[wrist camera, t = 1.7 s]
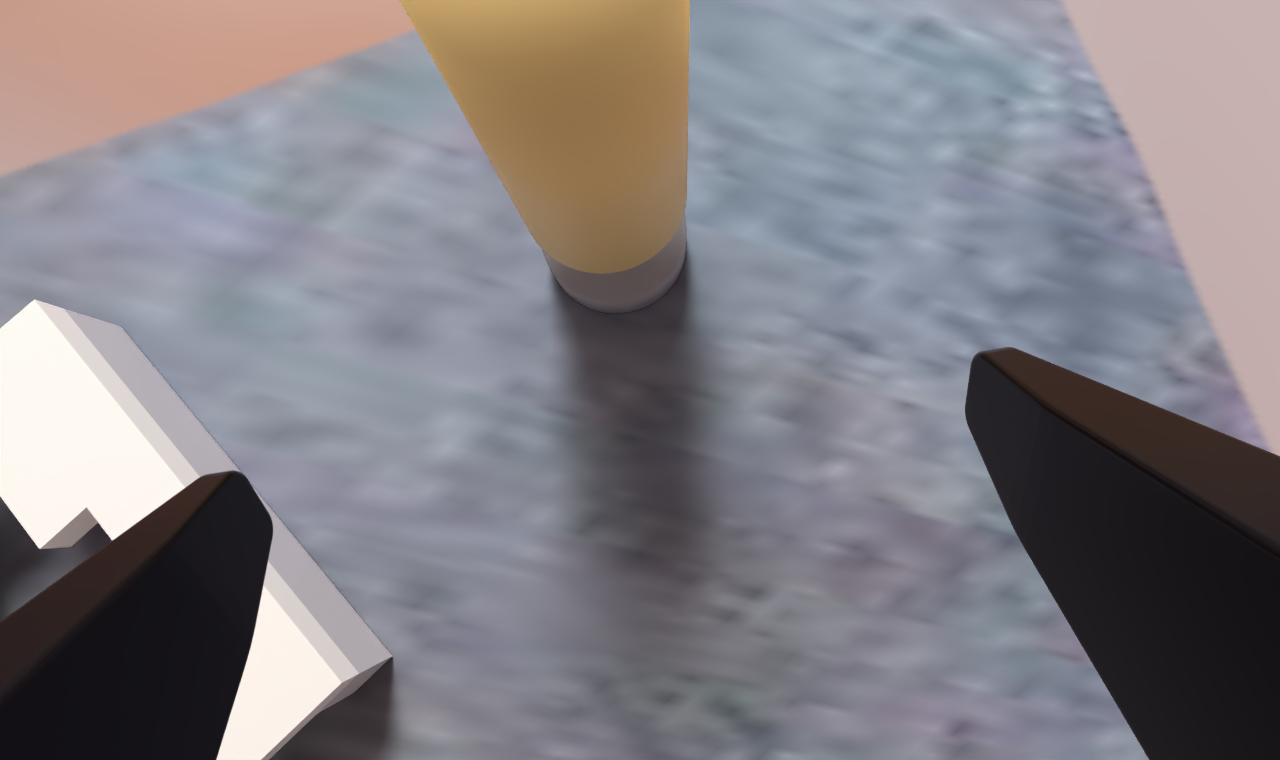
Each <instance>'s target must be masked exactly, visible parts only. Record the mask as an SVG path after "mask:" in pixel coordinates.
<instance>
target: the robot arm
mask: <svg viewBox="0 0 1280 760" xmlns="http://www.w3.org/2000/svg"><path fill="white" fill-rule="evenodd" d="M965 415H966V420H967V424H968V427H969V429H970V431H971V434H972V436H973V438H974V440H975V443H976V445H977V447H978V450H979V452H980V454H981V456H982V459H983V461H984V463H985V465H986V468H987V470H988V472H989V475H990V477H991V479H992V481H993V484H994V486H995V488H996V490H997V493H998V495H999V497H1000V500H1001V502H1002V504H1003V506H1004V509H1005V511H1006V513H1007V515H1008V517H1009V520H1010V522H1011V524H1012V526H1013V528H1014V530H1015V532H1016V534H1017V536H1018V537H1019V539H1020V541H1021V543H1022V545H1023V546H1024V548H1025V550H1026V552H1027V553H1028V555H1029V557H1030V558H1031V560H1032V562H1033V564H1034V565H1035V567H1036V569H1037V570H1038V572H1039V574H1040V575H1041V577H1042V579H1043V580H1044V582H1045V584H1046V586H1047V587H1048V589H1049V591H1050V592H1051V594H1052V596H1053V597H1054V599H1055V601H1056V602H1057V604H1058V606H1059V608H1060V609H1061V611H1062V613H1063V614H1064V616H1065V618H1066V619H1067V621H1068V623H1069V625H1070V626H1071V628H1072V630H1073V631H1074V633H1075V635H1076V636H1077V638H1078V640H1079V641H1080V643H1081V645H1082V647H1083V648H1084V650H1085V652H1086V653H1087V655H1088V657H1089V658H1090V660H1091V662H1092V664H1093V665H1094V667H1095V669H1096V670H1097V672H1098V674H1099V675H1100V677H1101V679H1102V680H1103V682H1104V684H1105V686H1106V687H1107V689H1108V691H1109V692H1110V694H1111V696H1112V697H1113V699H1114V701H1115V702H1116V704H1117V706H1118V708H1119V709H1120V711H1121V713H1122V714H1123V716H1124V718H1125V719H1126V721H1127V723H1128V725H1129V726H1130V728H1131V730H1132V731H1133V733H1134V735H1135V736H1136V738H1137V740H1138V741H1139V743H1140V745H1141V747H1142V748H1143V750H1144V752H1145V753H1146V755H1147V757H1148V758H1149V760H1280V456H1278V455H1275V454H1273V453H1270V452H1268V451H1265V450H1263V449H1261V448H1258V447H1256V446H1253V445H1251V444H1248V443H1246V442H1243V441H1241V440H1239V439H1236V438H1234V437H1231V436H1229V435H1226V434H1224V433H1221V432H1219V431H1217V430H1214V429H1212V428H1209V427H1207V426H1204V425H1202V424H1199V423H1197V422H1194V421H1192V420H1190V419H1187V418H1185V417H1182V416H1180V415H1177V414H1175V413H1172V412H1170V411H1168V410H1165V409H1163V408H1160V407H1158V406H1155V405H1153V404H1150V403H1148V402H1145V401H1143V400H1141V399H1138V398H1136V397H1133V396H1131V395H1128V394H1126V393H1123V392H1121V391H1119V390H1116V389H1114V388H1111V387H1109V386H1106V385H1104V384H1101V383H1099V382H1096V381H1094V380H1092V379H1089V378H1087V377H1084V376H1082V375H1079V374H1077V373H1074V372H1072V371H1070V370H1067V369H1065V368H1062V367H1060V366H1057V365H1055V364H1052V363H1050V362H1047V361H1045V360H1043V359H1040V358H1038V357H1035V356H1033V355H1030V354H1028V353H1025V352H1023V351H1021V350H1018V349H1015V348H1012V347H1005V348H999V349H993V350H987V351H981V352H979V353H977V354H976V355H975V356H974V358H973V360H972V363H971V368H970V375H969V382H968V390H967V397H966V404H965ZM272 538H273V523H272V519H271V516H270V514H269V512H268V511H267V509H266V508H265V506H264V504H263V503H262V501H261V500H260V498H259V497H258V495H257V493H256V492H255V490H254V489H253V487H252V485H251V484H250V482H249V481H248V479H247V478H246V476H245V475H244V474H242V473H241V472H239V471H235V470H230V471H224V472H218V473H211V474H206V475H203V476H201V477H199V478H198V479H196V480H195V481H194V482H192V483H191V484H190V485H188V486H187V487H185V488H184V489H183V490H181V491H180V492H179V493H177V494H176V495H174V496H173V497H172V498H170V499H169V500H167V501H166V502H165V503H163V504H162V505H161V506H159V507H158V508H156V509H155V510H154V511H152V512H151V513H150V514H148V515H147V516H145V517H144V518H143V519H141V520H140V521H139V522H137V523H136V524H134V525H133V526H132V527H130V528H129V529H128V530H126V531H125V532H123V533H122V534H121V535H119V536H118V537H117V538H115V539H114V540H112V541H111V542H110V543H108V544H107V545H106V546H104V547H103V548H101V549H100V550H99V551H97V552H96V553H95V554H93V555H92V556H90V557H89V558H88V559H86V560H85V561H84V562H82V563H81V564H79V565H78V566H77V567H75V568H74V569H73V570H71V571H70V572H68V573H67V574H66V575H64V576H63V577H62V578H60V579H59V580H57V581H56V582H55V583H53V584H52V585H51V586H49V587H48V588H46V589H45V590H44V591H42V592H41V593H40V594H38V595H37V596H35V597H34V598H33V599H31V600H30V601H29V602H27V603H26V604H24V605H23V606H22V607H20V608H19V609H18V610H16V611H15V612H13V613H12V614H11V615H9V616H8V617H6V618H5V619H4V620H2V621H1V622H0V760H216V759H217V756H218V753H219V750H220V746H221V743H222V740H223V737H224V734H225V730H226V727H227V724H228V721H229V717H230V714H231V711H232V708H233V704H234V701H235V698H236V695H237V692H238V688H239V685H240V682H241V679H242V675H243V672H244V669H245V666H246V662H247V659H248V655H249V651H250V648H251V644H252V639H253V635H254V631H255V626H256V621H257V616H258V611H259V605H260V600H261V595H262V590H263V585H264V580H265V574H266V569H267V564H268V559H269V554H270V549H271V543H272Z"/></svg>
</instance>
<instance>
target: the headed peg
mask: <svg viewBox="0 0 1280 760" xmlns="http://www.w3.org/2000/svg"><path fill="white" fill-rule="evenodd" d="M400 1H401V3H402V5H403V7H404V9H405V10H406V12H407V14H408V16H409V18H410V19H411V21H412V23H413V25H414V26H415V28H416V30H417V32H418V34H419V35H420V37H421V39H422V41H423V43H424V44H425V46H426V48H427V50H428V51H429V53H430V55H431V57H432V59H433V60H434V62H435V64H436V66H437V67H438V69H439V71H440V73H441V75H442V76H443V78H444V80H445V82H446V83H447V85H448V87H449V89H450V91H451V92H452V94H453V96H454V98H455V100H456V101H457V103H458V105H459V107H460V108H461V110H462V112H463V114H464V116H465V117H466V119H467V121H468V123H469V124H470V126H471V128H472V130H473V132H474V133H475V135H476V137H477V139H478V140H479V142H480V144H481V146H482V148H483V149H484V151H485V153H486V155H487V156H488V158H489V160H490V162H491V164H492V165H493V167H494V169H495V171H496V173H497V174H498V176H499V178H500V180H501V181H502V183H503V185H504V187H505V189H506V190H507V192H508V194H509V196H510V197H511V199H512V201H513V203H514V205H515V206H516V208H517V210H518V212H519V213H520V215H521V217H522V219H523V221H524V222H525V224H526V226H527V228H528V229H529V231H530V233H531V235H532V236H533V238H534V239H535V241H536V242H537V243H538V245H539V246H540V247H541V248H542V250H543V254H544V257H545V259H546V261H547V263H548V265H549V267H550V269H551V270H552V272H553V274H554V276H555V278H556V279H557V281H558V282H559V284H560V286H561V287H562V288H563V289H564V291H565V292H566V293H567V294H568V295H569V296H570V297H571V298H573V299H574V300H575V301H577V302H578V303H580V304H581V305H583V306H585V307H587V308H590V309H593V310H596V311H599V312H604V313H627V312H632V311H636V310H639V309H642V308H644V307H646V306H649V305H651V304H652V303H654V302H655V301H657V300H658V299H660V298H661V297H662V296H663V295H664V294H665V293H666V292H667V291H668V290H669V289H670V288H671V287H672V285H673V284H674V283H675V281H676V280H677V278H678V276H679V274H680V272H681V270H682V267H683V264H684V260H685V254H686V218H685V213H684V211H685V206H686V199H687V153H688V85H689V17H690V0H400Z"/></svg>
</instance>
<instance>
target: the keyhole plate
mask: <svg viewBox="0 0 1280 760" xmlns="http://www.w3.org/2000/svg"><path fill="white" fill-rule="evenodd" d="M230 470H235V471H239V470H238V468H237V467H236V466H235V465H234V464H233V462H232V461H231V460H230V459H229V458H228V456H227V455H226V454H225V453H224V451H223V450H222V449H221V448H220V447H219V445H218V444H217V443H216V442H215V441H214V439H213V438H212V437H211V436H210V434H209V433H208V432H207V431H206V430H205V428H204V427H203V426H202V425H201V424H200V422H199V421H198V420H197V419H196V417H195V416H194V415H193V414H192V413H191V411H190V410H189V409H188V408H187V407H186V405H185V404H184V403H183V402H182V400H181V399H180V398H179V397H178V396H177V394H176V393H175V392H174V391H173V390H172V388H171V387H170V386H169V385H168V383H167V382H166V381H165V380H164V379H163V377H162V376H161V375H160V374H159V373H158V371H157V370H156V369H155V368H154V366H153V365H152V364H151V363H150V362H149V360H148V359H147V358H146V357H145V356H144V354H143V353H142V352H141V351H140V349H139V348H138V347H137V346H136V345H135V343H134V342H133V341H132V340H131V339H130V337H129V336H128V335H127V334H126V332H125V331H124V330H123V329H122V328H121V327H120V326H117V325H114V324H110V323H107V322H104V321H101V320H98V319H95V318H91V317H88V316H85V315H82V314H79V313H75V312H72V311H69V310H66V309H63V308H60V307H56V306H53V305H50V304H47V303H44V302H40V301H37V300H33V301H32V302H31V303H30V304H28V305H27V306H26V307H25V308H24V309H23V310H22V311H20V312H19V313H18V314H17V315H16V316H15V317H13V318H12V319H11V320H10V321H9V322H8V323H7V324H5V325H4V326H3V327H2V328H1V329H0V497H1V498H2V499H3V501H4V502H5V503H6V505H7V506H8V507H9V509H10V510H11V511H12V513H13V514H14V515H15V517H16V518H17V519H18V521H19V522H20V524H21V525H22V526H23V528H24V529H25V530H26V532H27V533H28V534H29V536H30V537H31V538H32V540H33V541H34V542H35V544H36V545H37V546H38V548H39V549H50V548H64V547H72V546H73V545H74V544H75V543H76V542H77V541H78V540H79V539H80V538H82V537H83V536H84V535H85V534H86V533H87V532H88V531H89V530H90V529H91V528H93V527H94V526H95V525H96V524H97V523H99V524H100V525H101V527H102V528H103V529H104V530H105V532H106V533H107V534H108V536H109V537H110V538H111V540H114V539H115V538H117V537H118V536H119V535H121V534H122V533H123V532H125V531H126V530H128V529H129V528H130V527H132V526H133V525H134V524H136V523H137V522H139V521H140V520H141V519H143V518H144V517H145V516H147V515H148V514H150V513H151V512H152V511H154V510H155V509H156V508H158V507H159V506H161V505H162V504H163V503H165V502H166V501H167V500H169V499H170V498H172V497H173V496H174V495H176V494H177V493H179V492H180V491H181V490H183V489H184V488H185V487H187V486H188V485H190V484H191V483H192V482H194V481H195V480H196V479H198V478H199V477H201V476H203V475H206V474H211V473H218V472H224V471H230ZM239 472H240V471H239ZM253 489H254V488H253ZM254 490H255V489H254ZM255 492H256V490H255ZM256 493H257V492H256ZM257 495H258V497H259V498H260V500H261V501H262V503H263V504H264V506H265V508H266V509H267V511H268V512H269V514H270V516H271V519H272V523H273V538H272V543H271V549H270V554H269V559H268V564H267V569H266V574H265V580H264V585H263V590H262V595H261V600H260V605H259V611H258V616H257V621H256V626H255V631H254V635H253V639H252V644H251V648H250V651H249V655H248V659H247V662H246V666H245V669H244V672H243V675H242V679H241V682H240V685H239V688H238V692H237V695H236V698H235V701H234V704H233V708H232V711H231V714H230V717H229V721H228V724H227V727H226V730H225V734H224V737H223V740H222V743H221V746H220V750H219V753H218V756H217V759H216V760H269V759H270V758H271V757H272V756H273V755H274V754H275V753H276V752H278V751H279V750H280V749H281V748H282V747H283V746H284V745H285V744H286V743H287V742H288V741H289V740H290V739H291V738H292V737H293V736H294V735H295V734H296V733H297V732H298V731H300V730H301V729H302V728H303V727H304V726H305V725H306V724H307V723H308V722H309V721H310V720H311V719H312V718H313V717H314V716H315V715H316V714H318V713H320V712H321V711H323V710H325V709H327V708H328V707H330V706H332V705H334V704H335V703H337V702H339V701H340V700H342V699H344V698H346V697H347V696H349V695H351V694H353V693H354V692H355V691H356V690H357V689H358V688H359V687H360V686H362V685H363V684H364V683H365V682H366V681H367V680H368V679H369V678H370V677H371V676H372V675H373V674H374V673H375V672H376V671H377V670H378V669H379V668H380V667H381V666H382V665H383V664H385V663H386V662H387V661H388V660H389V659H390V658H391V657H392V655H391V654H390V653H389V652H388V651H387V649H386V648H385V647H384V646H383V645H382V643H381V642H380V641H379V640H378V638H377V637H376V636H375V635H374V634H373V632H372V631H371V630H370V629H369V628H368V626H367V625H366V624H365V623H364V621H363V620H362V619H361V618H360V617H359V615H358V614H357V613H356V612H355V611H354V609H353V608H352V607H351V606H350V604H349V603H348V602H347V601H346V600H345V598H344V597H343V596H342V595H341V594H340V592H339V591H338V590H337V589H336V587H335V586H334V585H333V584H332V583H331V581H330V580H329V579H328V578H327V577H326V575H325V574H324V573H323V572H322V570H321V569H320V568H319V567H318V566H317V564H316V563H315V562H314V561H313V560H312V558H311V557H310V556H309V555H308V553H307V552H306V551H305V550H304V549H303V547H302V546H301V545H300V544H299V543H298V541H297V540H296V539H295V538H294V536H293V535H292V534H291V533H290V532H289V530H288V529H287V528H286V527H285V526H284V524H283V523H282V522H281V521H280V519H279V518H278V517H277V516H276V515H275V513H274V512H273V511H272V510H271V509H270V507H269V506H268V505H267V504H266V502H265V501H264V500H263V499H262V498H261V496H260V495H259V494H258V493H257Z"/></svg>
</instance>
